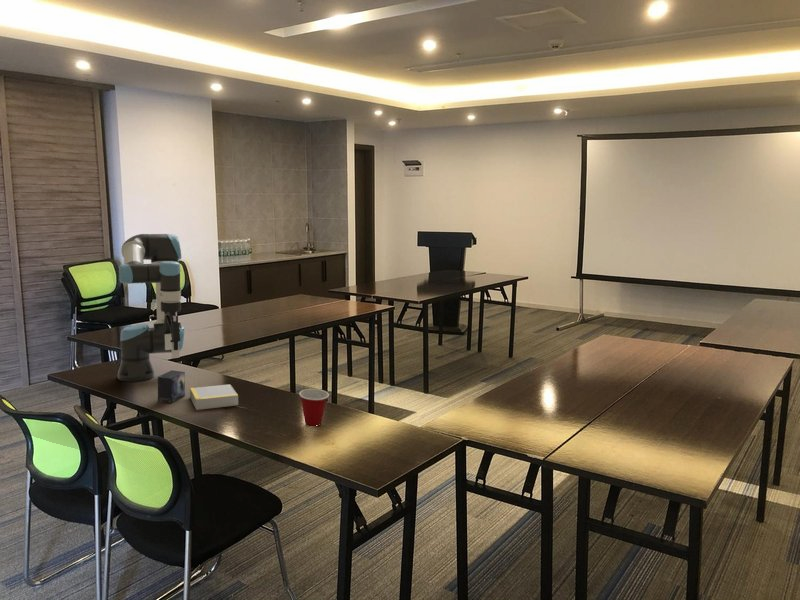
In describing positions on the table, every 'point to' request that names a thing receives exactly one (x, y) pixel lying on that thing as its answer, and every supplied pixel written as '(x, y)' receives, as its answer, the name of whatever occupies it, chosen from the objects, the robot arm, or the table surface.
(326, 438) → the table surface
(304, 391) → the plastic cup
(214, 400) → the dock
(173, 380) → the small box
